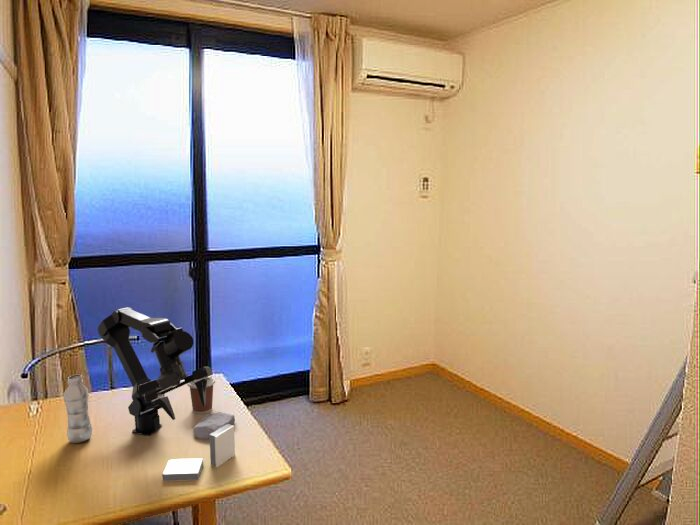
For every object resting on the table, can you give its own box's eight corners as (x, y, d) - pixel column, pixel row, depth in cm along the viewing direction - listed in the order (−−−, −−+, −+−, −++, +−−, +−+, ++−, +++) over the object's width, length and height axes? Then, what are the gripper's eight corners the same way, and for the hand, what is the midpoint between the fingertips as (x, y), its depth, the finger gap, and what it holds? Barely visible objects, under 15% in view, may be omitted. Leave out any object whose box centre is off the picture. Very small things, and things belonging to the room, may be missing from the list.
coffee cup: (204, 401, 177) (203, 368, 175) (221, 408, 172) (220, 375, 170) (182, 410, 170) (181, 376, 168) (200, 418, 164) (198, 383, 162)
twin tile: (162, 482, 131) (162, 474, 130) (169, 467, 138) (169, 459, 137) (198, 481, 132) (197, 473, 131) (203, 466, 138) (203, 458, 138)
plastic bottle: (96, 439, 150) (91, 376, 147) (72, 448, 146) (66, 383, 142) (88, 432, 155) (83, 370, 151) (64, 440, 150) (58, 377, 146)
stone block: (191, 443, 153) (221, 440, 151) (188, 428, 152) (218, 425, 150) (210, 426, 164) (238, 423, 162) (207, 412, 164) (235, 409, 162)
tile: (210, 464, 138) (209, 434, 137) (228, 452, 144) (227, 423, 143) (217, 467, 137) (216, 436, 136) (234, 455, 143) (234, 425, 142)
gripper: (126, 376, 136) (146, 431, 134) (191, 348, 137) (212, 402, 135) (143, 374, 147) (162, 424, 144) (203, 347, 148) (222, 397, 146)
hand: (189, 412), depth 142 cm, fingers open, 9 cm apart
